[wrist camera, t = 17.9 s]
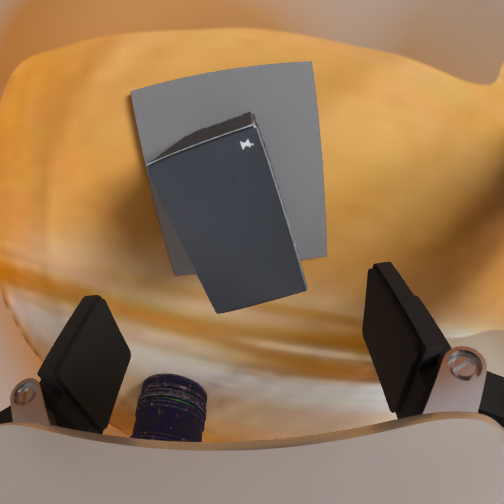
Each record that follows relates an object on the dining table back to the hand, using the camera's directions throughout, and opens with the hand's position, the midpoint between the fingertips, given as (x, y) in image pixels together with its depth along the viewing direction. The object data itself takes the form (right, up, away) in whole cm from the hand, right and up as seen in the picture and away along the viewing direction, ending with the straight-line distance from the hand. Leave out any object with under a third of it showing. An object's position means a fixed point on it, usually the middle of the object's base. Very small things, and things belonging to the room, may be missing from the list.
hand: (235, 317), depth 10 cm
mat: (-1, +9, +16) cm, 18 cm away
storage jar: (-11, -18, +31) cm, 37 cm away
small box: (-1, +8, +16) cm, 18 cm away
